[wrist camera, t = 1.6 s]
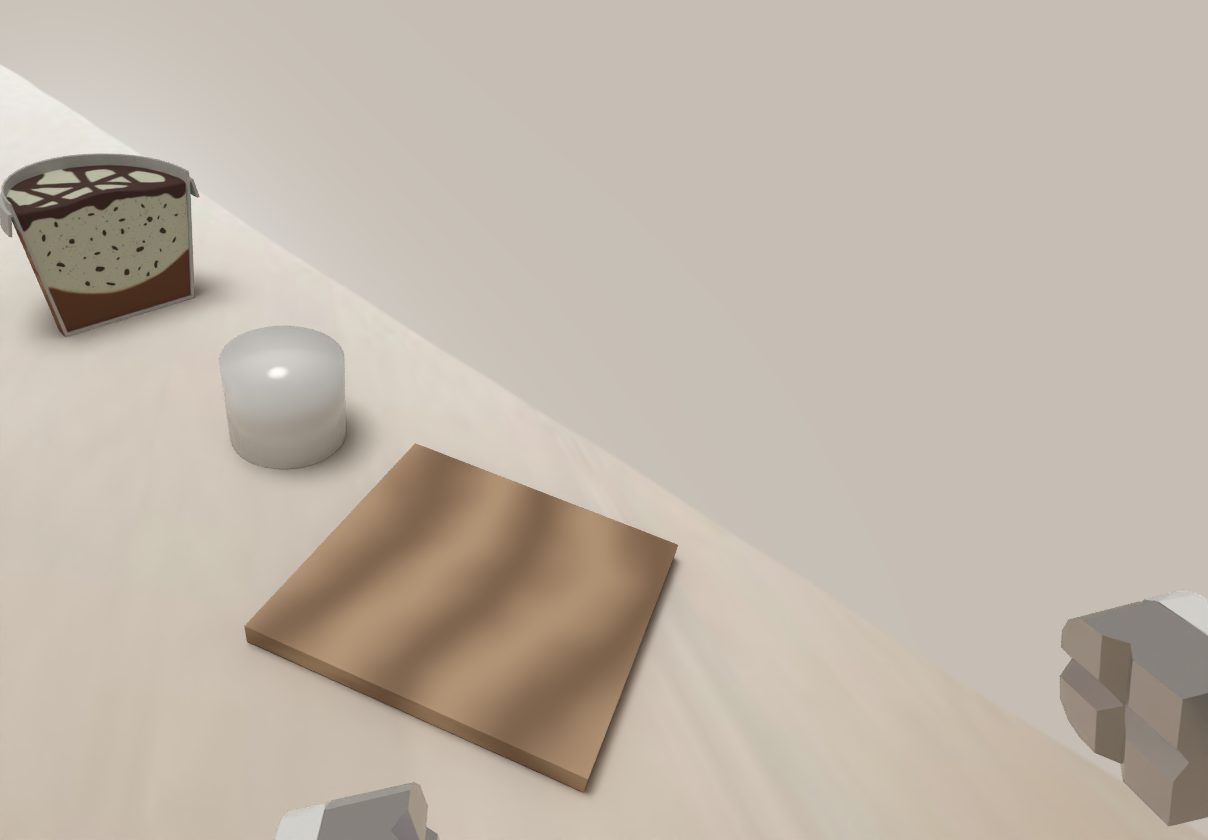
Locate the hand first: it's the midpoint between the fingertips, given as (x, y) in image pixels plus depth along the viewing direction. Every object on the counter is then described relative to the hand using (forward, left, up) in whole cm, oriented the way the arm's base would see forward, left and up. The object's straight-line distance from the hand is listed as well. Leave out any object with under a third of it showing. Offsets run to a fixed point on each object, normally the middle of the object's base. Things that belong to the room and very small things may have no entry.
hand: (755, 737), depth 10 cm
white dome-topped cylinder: (-28, +26, -27) cm, 47 cm away
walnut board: (-11, +20, -26) cm, 35 cm away
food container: (-48, +32, -27) cm, 64 cm away
